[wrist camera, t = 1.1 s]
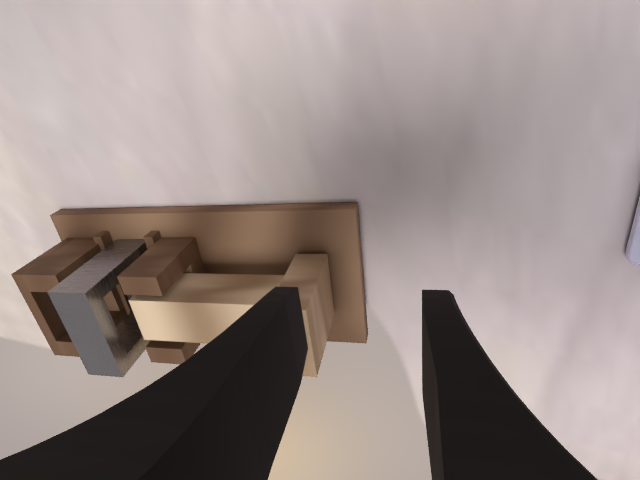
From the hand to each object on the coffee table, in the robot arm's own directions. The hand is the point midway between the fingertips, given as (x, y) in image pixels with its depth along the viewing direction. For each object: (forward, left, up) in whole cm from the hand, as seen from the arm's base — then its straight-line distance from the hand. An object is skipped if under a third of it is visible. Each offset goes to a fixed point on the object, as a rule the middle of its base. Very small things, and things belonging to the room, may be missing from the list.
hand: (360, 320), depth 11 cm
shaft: (+7, +5, -9) cm, 13 cm away
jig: (+10, +5, -10) cm, 15 cm away
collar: (+14, +5, -9) cm, 17 cm away
